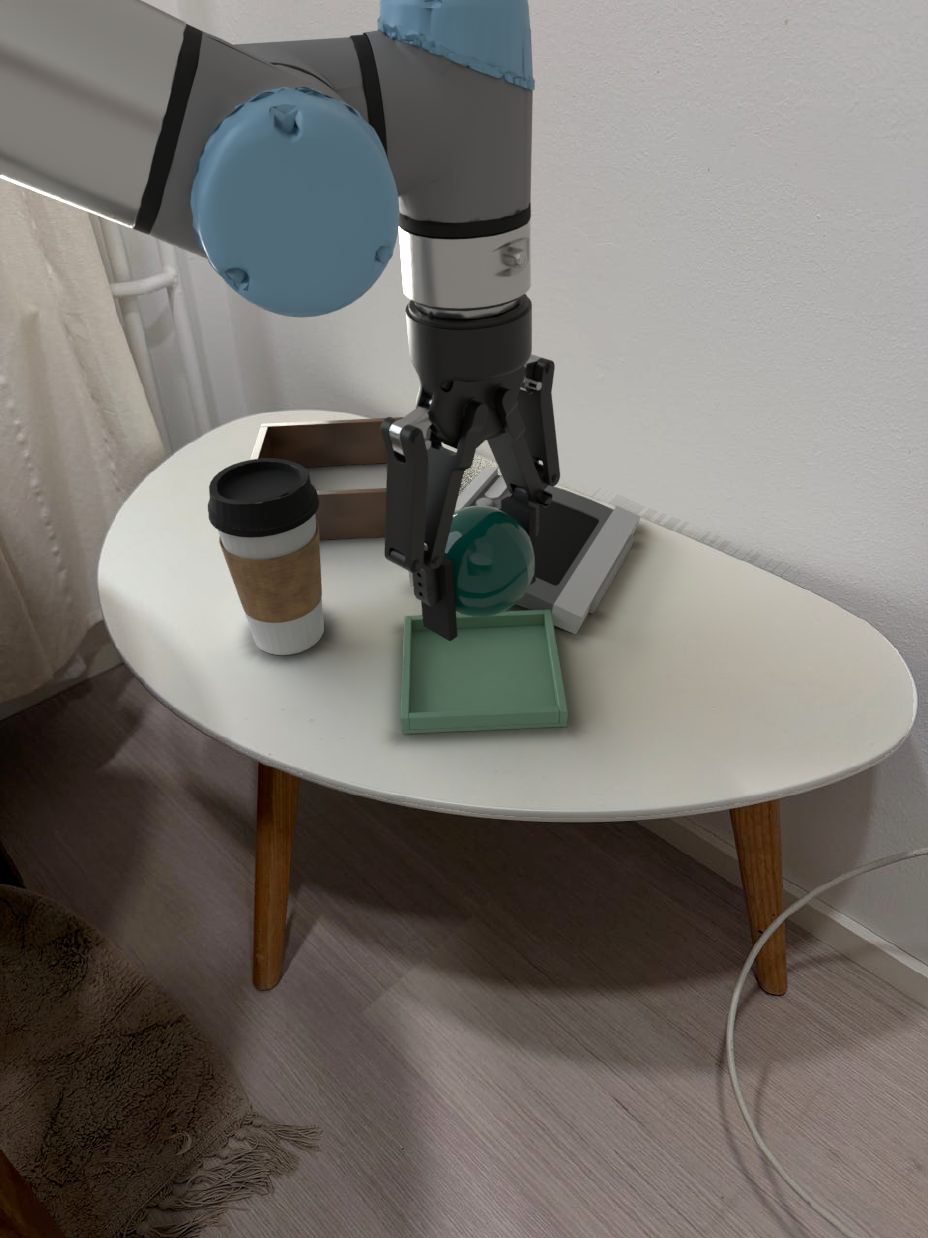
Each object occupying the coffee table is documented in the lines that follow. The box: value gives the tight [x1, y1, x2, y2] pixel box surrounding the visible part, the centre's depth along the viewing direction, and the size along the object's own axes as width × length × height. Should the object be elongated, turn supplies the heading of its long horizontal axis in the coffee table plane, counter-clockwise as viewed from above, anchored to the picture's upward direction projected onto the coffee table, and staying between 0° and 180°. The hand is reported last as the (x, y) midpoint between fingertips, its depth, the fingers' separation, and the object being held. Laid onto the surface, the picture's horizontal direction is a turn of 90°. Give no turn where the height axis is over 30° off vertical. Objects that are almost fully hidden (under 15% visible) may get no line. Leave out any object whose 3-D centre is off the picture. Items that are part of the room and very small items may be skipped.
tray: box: [400, 609, 569, 735], centre depth 72 cm, size 12×12×2 cm
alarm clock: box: [408, 465, 641, 635], centre depth 84 cm, size 17×5×16 cm
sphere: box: [444, 506, 535, 617], centre depth 66 cm, size 8×8×8 cm
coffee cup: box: [207, 458, 325, 656], centre depth 73 cm, size 8×8×15 cm
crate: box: [249, 416, 405, 541], centre depth 94 cm, size 16×16×5 cm
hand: (480, 602), depth 68 cm, fingers closed on sphere, 8 cm apart
